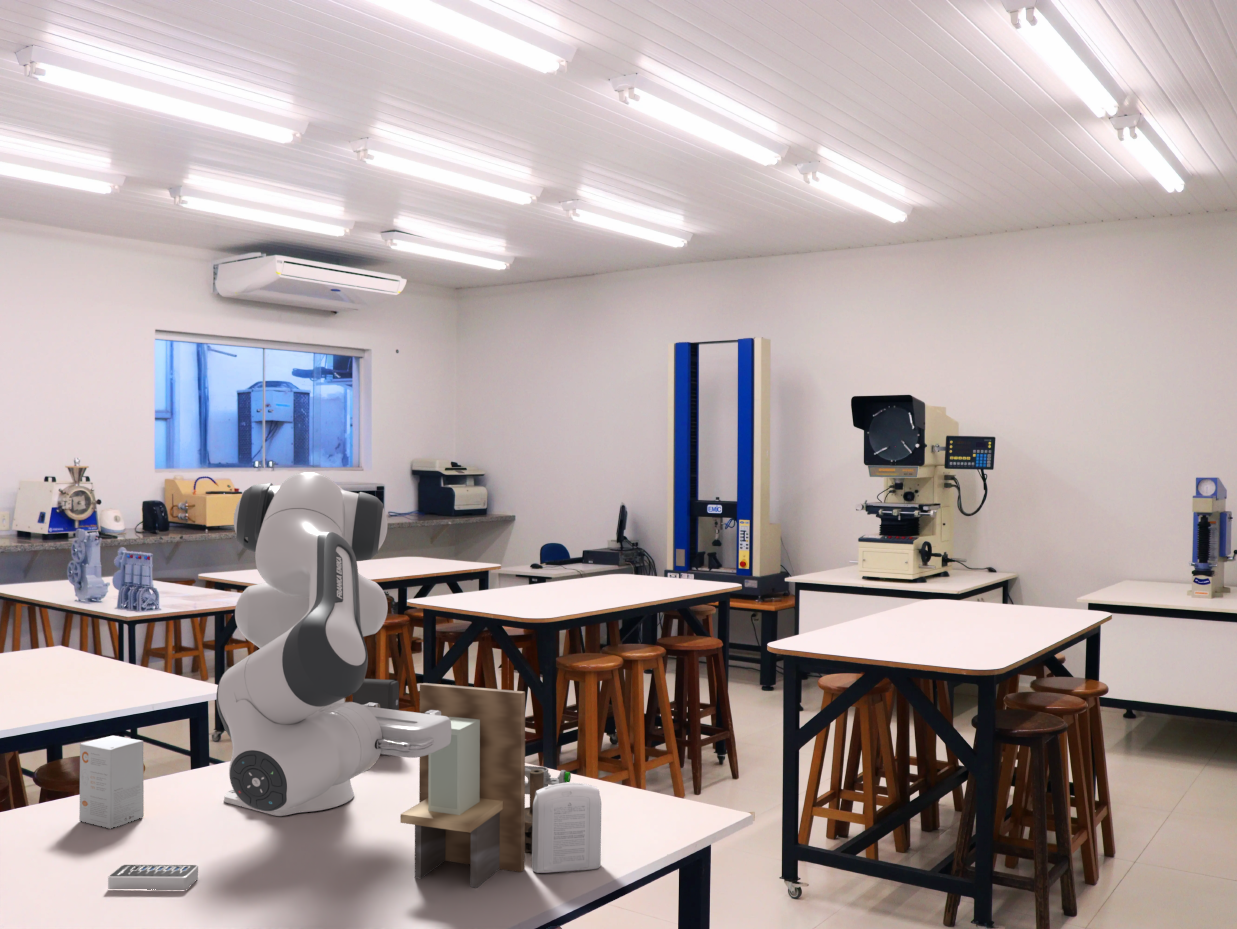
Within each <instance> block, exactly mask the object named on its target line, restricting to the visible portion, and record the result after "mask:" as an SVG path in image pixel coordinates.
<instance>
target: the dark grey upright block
mask: <svg viewBox="0 0 1237 929" xmlns="http://www.w3.org/2000/svg"><path fill="white" fill-rule="evenodd" d="M352 702H354V703H358V704H361V705H365V704H367V703H369V702H371V703H378V704H380V708H384V709H392V710H400V708H399V707H400V683H399V680H395V679H379V678H365V679H364V681H363V683H362V685H361V687H360V688H359V689H358V690H357V691H356V692H355V693H353V694H352ZM381 755H383V756H387V755H386V754H380V756H381Z"/></svg>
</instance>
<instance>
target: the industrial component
mask: <svg viewBox="0 0 1237 929" xmlns="http://www.w3.org/2000/svg"><path fill="white" fill-rule="evenodd" d="M542 788H544V771H543V770H540V769H534V770H531V771H530V794H529V806H527V807H525V852H526V853H531V854H532V832H533V802H534V799H535V793H536V791H537V790H539V789H542Z"/></svg>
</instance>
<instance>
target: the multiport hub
mask: <svg viewBox="0 0 1237 929" xmlns="http://www.w3.org/2000/svg"><path fill="white" fill-rule="evenodd" d="M197 879H198V880H199V865H198V864H123V865H121V866H120V867H119V866H118V868H117V869H115V871H113V872H112V873H110V874H109V875H108V876H107V880H108V881H107V882H108V883H107V884H108V885H107V890H108V889H147V890H151V889H152V890H153V889H154V890H155V889H156V890H186V889H188V888H189V886H190V885H192V884H193V883H194V882H195V880H197ZM198 880H197V881H198ZM195 883H196V882H195ZM195 883H194V884H195ZM194 884H193V885H194ZM193 885H192V886H193ZM189 889H190V888H189ZM189 889H188V890H189ZM186 891H187V890H186Z"/></svg>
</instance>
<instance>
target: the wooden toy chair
mask: <svg viewBox="0 0 1237 929" xmlns="http://www.w3.org/2000/svg"><path fill="white" fill-rule="evenodd" d="M429 710H437V711H441V716H447V717H459V718H469V719H479V720H480V802H479V803H477V804H476V805H474V806H473V807H471V808H469V809H468V810H466V811H465V812H463V813H462V814H460V815H455V814H447V813H440V812H433V811H428V775H429V755H426V756H422V757H419V774H418V775H419V778H418V779H419V784H418V785H419V791H418V793H419V794H418V795H419V796H418V797H419V799H418V800H419V802H418V803H416V804H415V805H413V806H411V807H410V808H408V809H407V810H405V811H403V812H402V813H400V820H399V821H400V824H405V825H407V824H409V825H413V826H414V878H416V879H423V878H424V877H425V876H426V875H428V874H429V873H431V872H432V871H433V870H434V869H436V868H437V867H439V866H440V865H441V864H443V863H444V862H451V863H452V862H453V863H459V864H465V865H470V887H471V888H475V889H476V888H478V887H480V886H481V885H482V884H483V883H484V882H486V881H487V880H488V879H489V878H491V876H493V875H494V874H495V873H497V871H499V870H504V871H510V872H517V873H522V872H523V871H524V870H525V869H526V867H525V865H526V864H525V862H526V861H525V860H526V858H525V857H526V856H525V855H526V853H525V808H526V794H525V781H526V776H525V766H526V691H522V690H511V689H498V688H486V687H476V686H474V687H473V686H464V685H453V684H452V685H451V684H442V683H441V684H439V683H430V682H429V683H428V682H423V683H420V684H419V713H424V714H425V712H427V711H429Z"/></svg>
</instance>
